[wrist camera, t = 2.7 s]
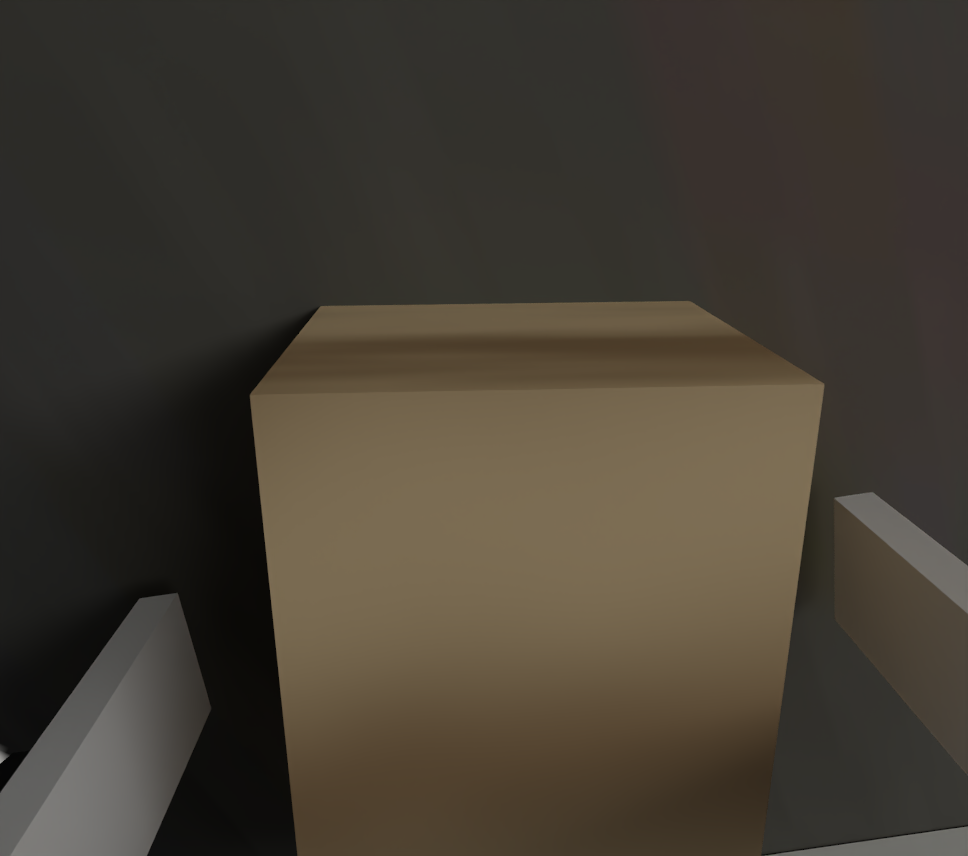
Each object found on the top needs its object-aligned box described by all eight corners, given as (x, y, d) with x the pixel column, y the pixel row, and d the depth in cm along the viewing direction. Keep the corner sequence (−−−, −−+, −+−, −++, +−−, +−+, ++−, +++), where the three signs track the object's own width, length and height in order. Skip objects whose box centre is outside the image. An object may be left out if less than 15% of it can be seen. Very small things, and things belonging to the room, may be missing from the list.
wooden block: (321, 304, 15) (249, 394, 10) (687, 299, 16) (825, 384, 10) (355, 773, 19) (317, 1039, 13) (652, 762, 19) (739, 1018, 14)
